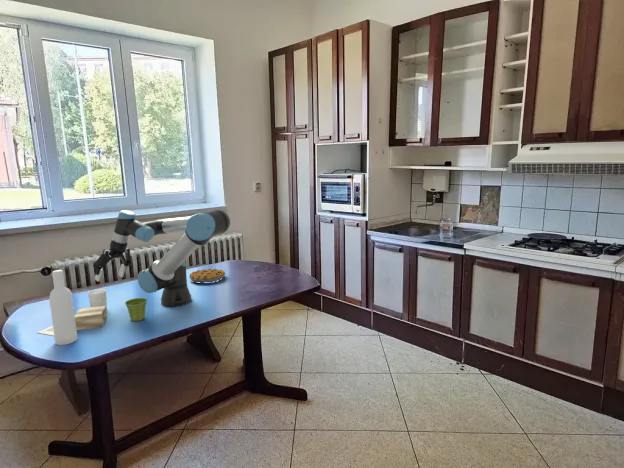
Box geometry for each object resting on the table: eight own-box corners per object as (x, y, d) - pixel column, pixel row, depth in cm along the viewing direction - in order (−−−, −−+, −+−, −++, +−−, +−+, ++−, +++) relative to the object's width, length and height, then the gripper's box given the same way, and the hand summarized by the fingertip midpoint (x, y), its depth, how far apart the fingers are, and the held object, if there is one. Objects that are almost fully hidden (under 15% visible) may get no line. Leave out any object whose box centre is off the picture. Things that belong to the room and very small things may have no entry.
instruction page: (76, 328, 174) (75, 327, 174) (57, 336, 165) (57, 335, 165) (55, 324, 178) (55, 324, 177) (36, 332, 169) (36, 332, 169)
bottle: (50, 343, 159) (40, 272, 154) (68, 335, 166) (59, 267, 161) (64, 346, 156) (55, 274, 151) (82, 338, 164) (73, 269, 158)
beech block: (80, 320, 182) (79, 308, 181) (107, 317, 185) (105, 305, 184) (74, 330, 172) (72, 317, 170) (102, 327, 175) (100, 314, 174)
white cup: (111, 308, 197) (109, 289, 195) (98, 314, 189) (96, 294, 187) (99, 306, 199) (97, 288, 197) (86, 312, 192) (84, 293, 190)
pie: (220, 285, 234) (220, 277, 233) (184, 285, 234) (183, 277, 233) (228, 274, 255) (228, 267, 254) (195, 274, 255) (195, 267, 254)
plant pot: (134, 324, 177) (133, 306, 176) (122, 320, 182) (120, 302, 181) (152, 317, 185) (151, 300, 183) (140, 313, 190) (138, 296, 188)
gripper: (135, 235, 207) (125, 271, 211) (91, 238, 184) (81, 278, 189) (145, 242, 204) (134, 277, 209) (102, 245, 181) (90, 285, 186)
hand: (109, 278), depth 199 cm, fingers open, 13 cm apart
